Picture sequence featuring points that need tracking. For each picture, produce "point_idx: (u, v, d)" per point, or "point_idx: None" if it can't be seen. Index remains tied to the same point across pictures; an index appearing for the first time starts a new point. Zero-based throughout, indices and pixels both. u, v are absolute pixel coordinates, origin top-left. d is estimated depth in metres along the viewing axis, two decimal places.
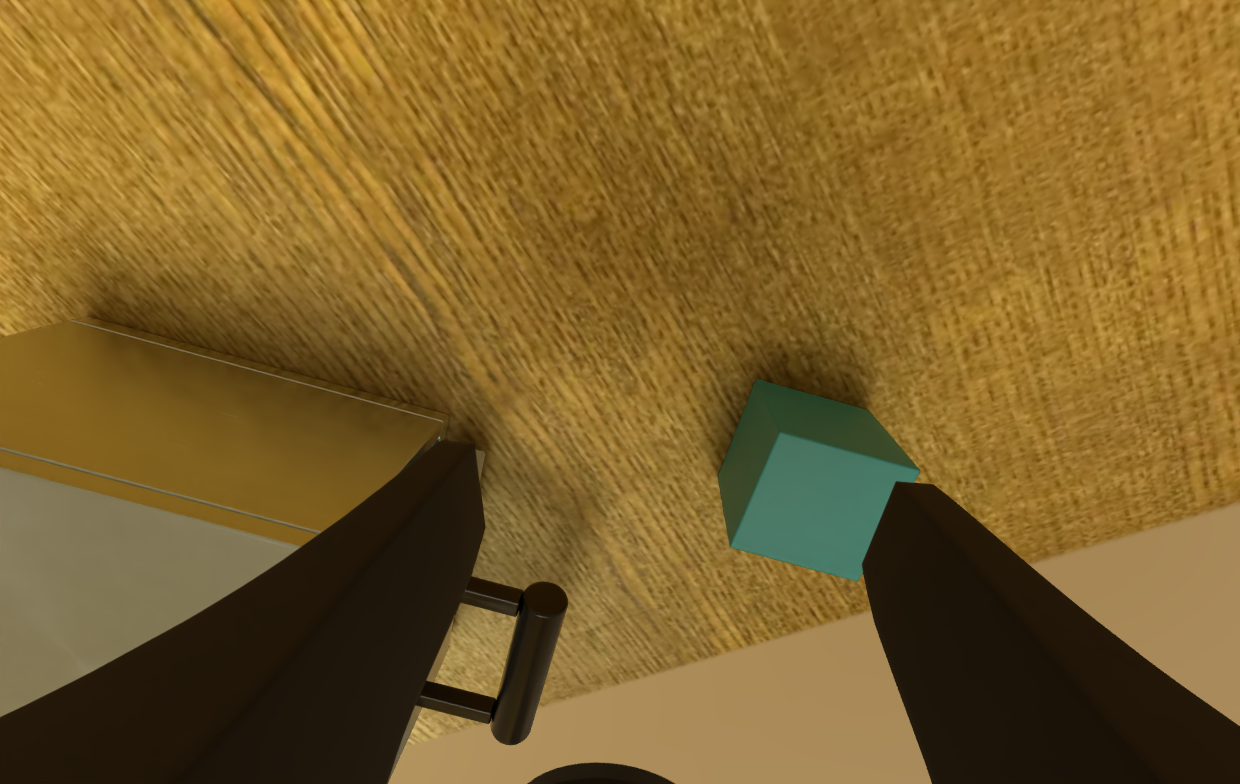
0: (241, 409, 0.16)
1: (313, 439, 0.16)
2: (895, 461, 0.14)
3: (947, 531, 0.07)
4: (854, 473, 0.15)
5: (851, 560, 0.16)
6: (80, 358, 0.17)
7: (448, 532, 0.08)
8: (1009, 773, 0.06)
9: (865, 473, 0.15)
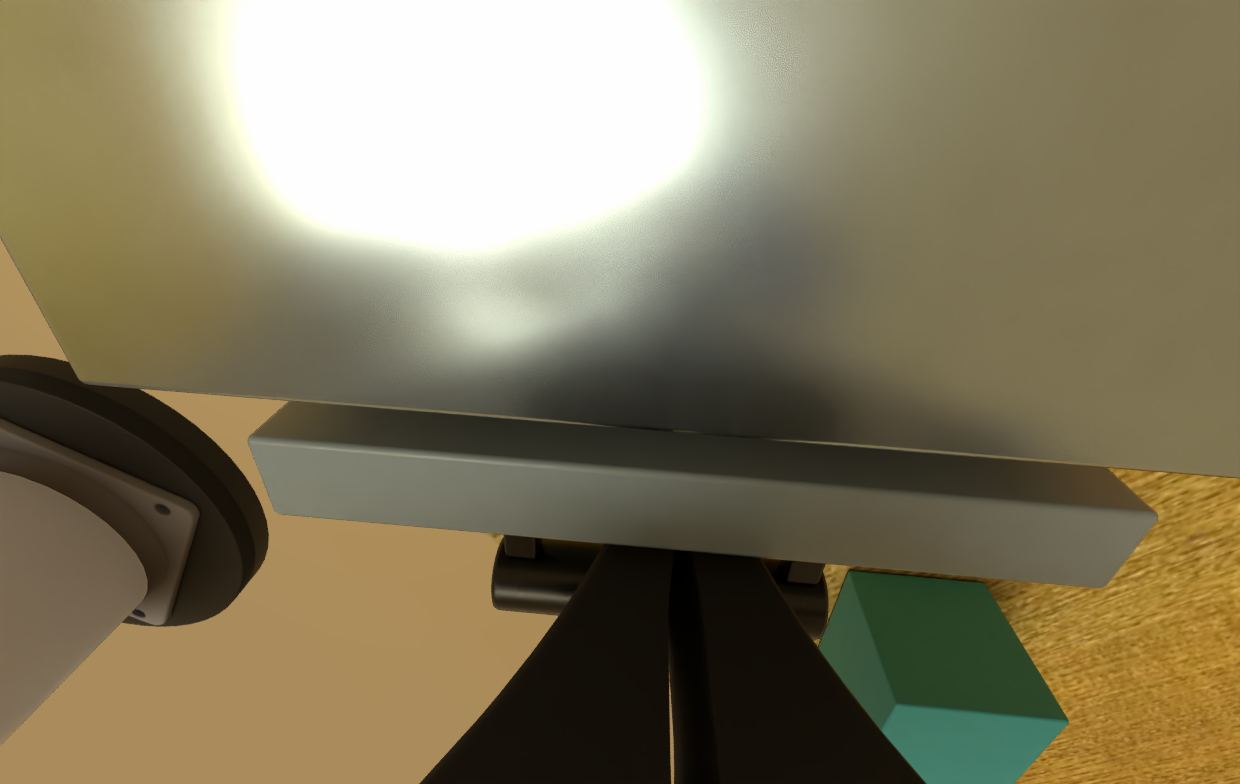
0: None
1: None
2: None
3: None
4: (1002, 769, 0.14)
5: None
6: None
7: None
8: (689, 736, 0.06)
9: (1001, 774, 0.14)
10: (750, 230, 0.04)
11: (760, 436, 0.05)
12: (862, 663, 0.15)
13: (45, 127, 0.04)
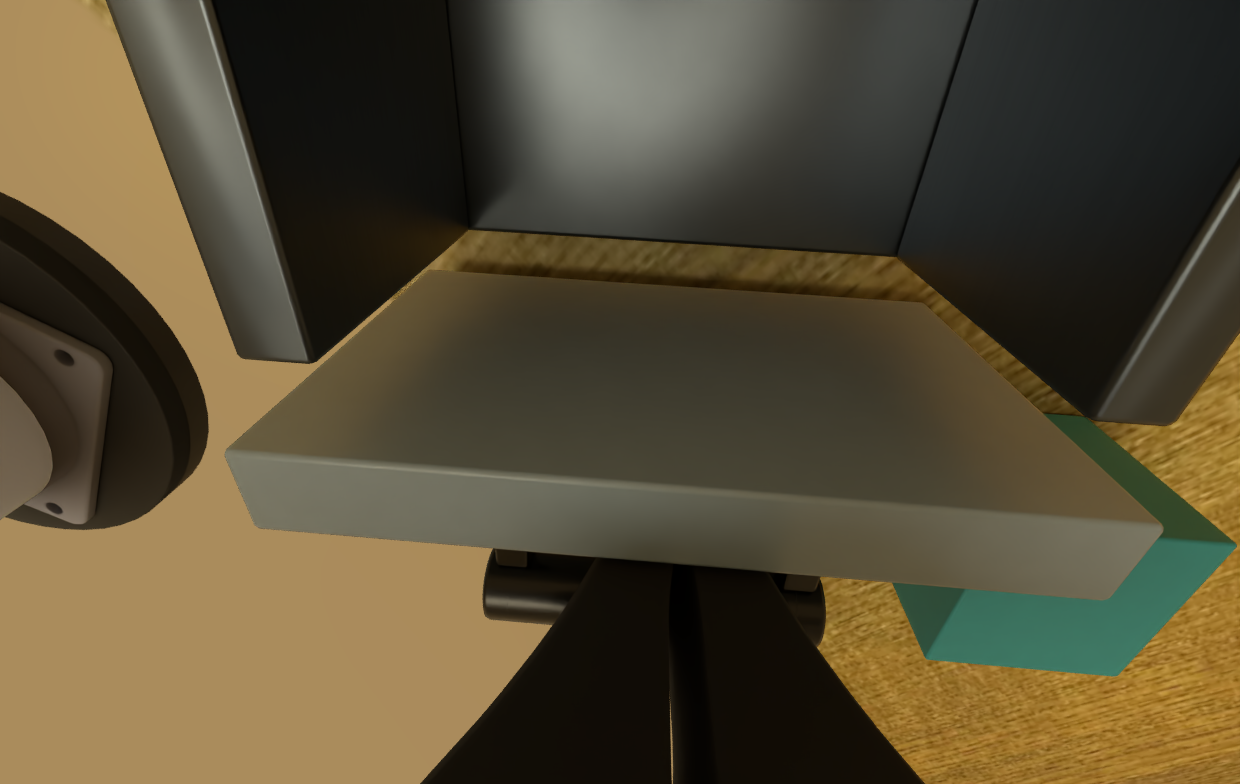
0: None
1: None
2: (1132, 654, 0.11)
3: None
4: (1130, 627, 0.11)
5: (966, 648, 0.11)
6: None
7: None
8: (687, 735, 0.06)
9: (1127, 636, 0.11)
10: None
11: None
12: None
13: None
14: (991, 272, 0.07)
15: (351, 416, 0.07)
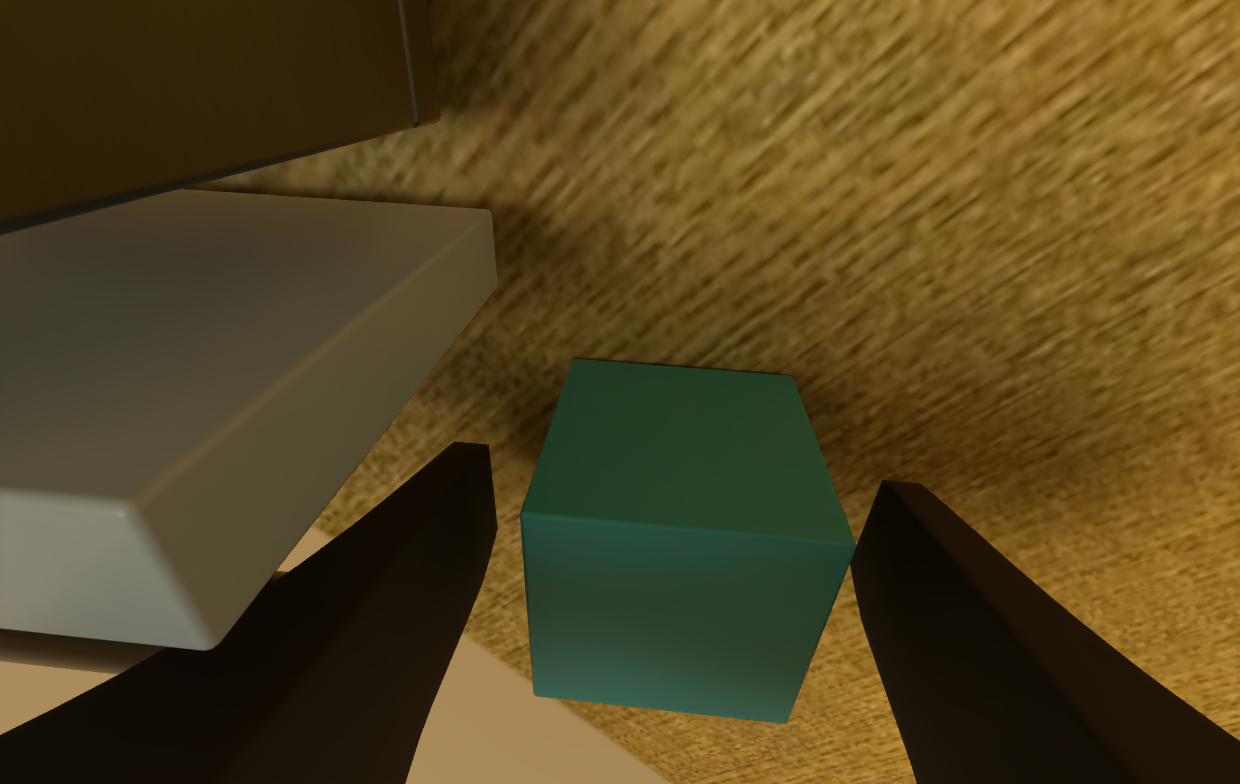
0: None
1: None
2: (795, 694, 0.08)
3: (931, 530, 0.07)
4: (767, 660, 0.07)
5: (575, 683, 0.08)
6: None
7: (463, 533, 0.08)
8: (989, 771, 0.06)
9: (770, 672, 0.08)
10: None
11: None
12: None
13: None
14: None
15: None
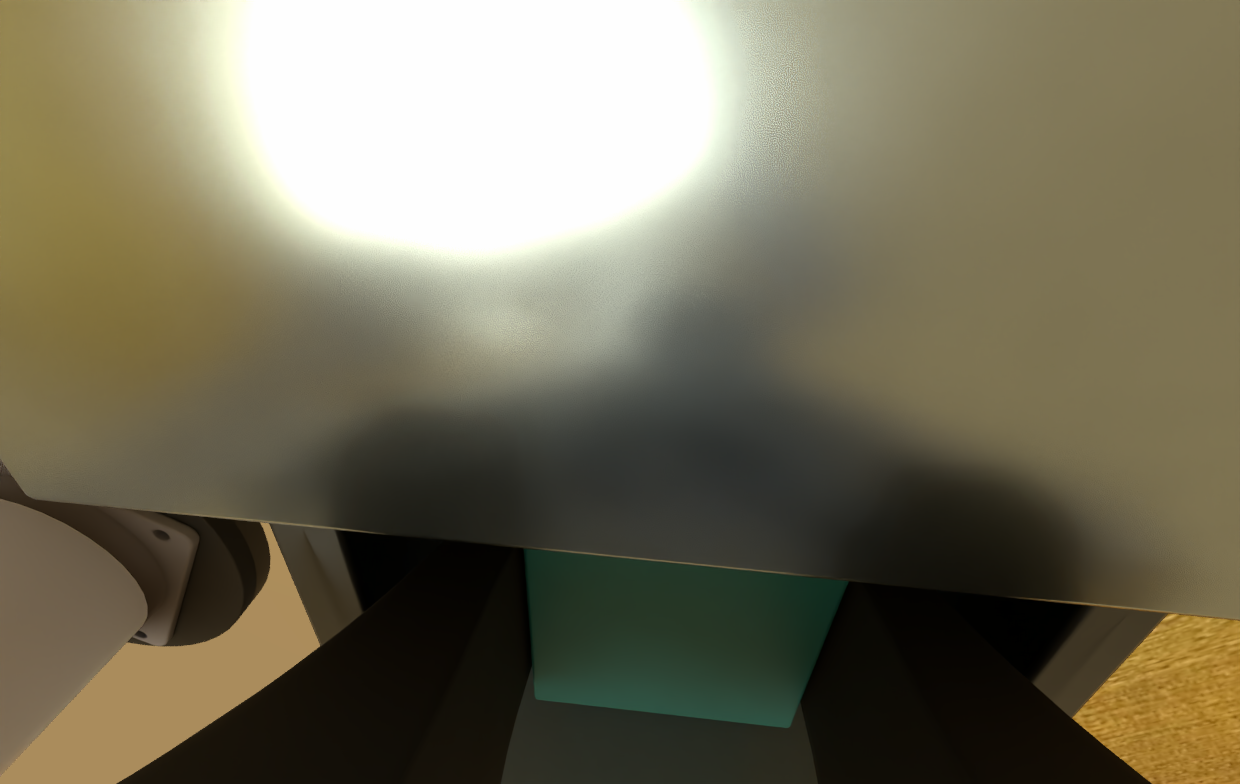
0: None
1: None
2: (799, 699, 0.08)
3: None
4: (770, 665, 0.07)
5: (576, 687, 0.08)
6: None
7: None
8: (864, 755, 0.06)
9: (774, 676, 0.08)
10: (775, 369, 0.03)
11: (782, 573, 0.04)
12: None
13: None
14: None
15: None
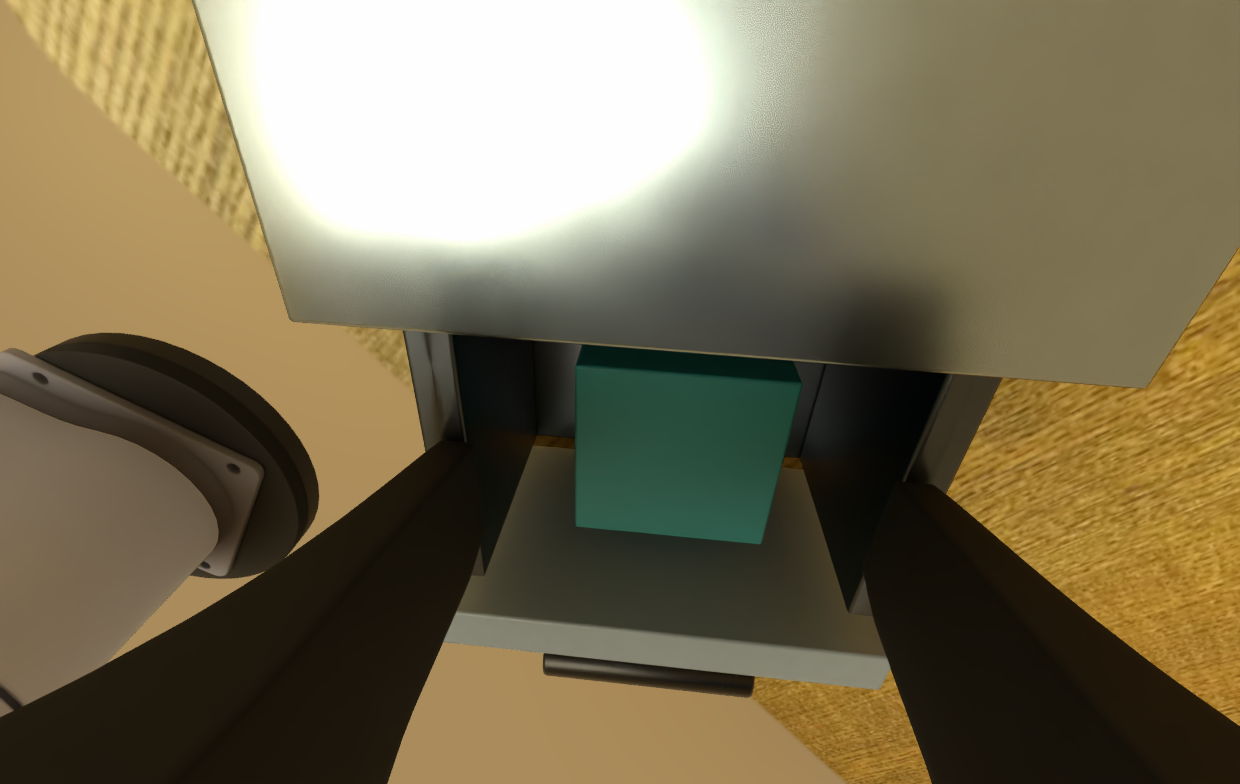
0: None
1: None
2: (767, 518, 0.11)
3: (947, 531, 0.07)
4: (746, 485, 0.11)
5: (607, 513, 0.11)
6: None
7: (448, 532, 0.08)
8: (1010, 773, 0.06)
9: (748, 495, 0.11)
10: (725, 219, 0.06)
11: (735, 354, 0.07)
12: None
13: (305, 158, 0.06)
14: (828, 510, 0.12)
15: (487, 583, 0.12)
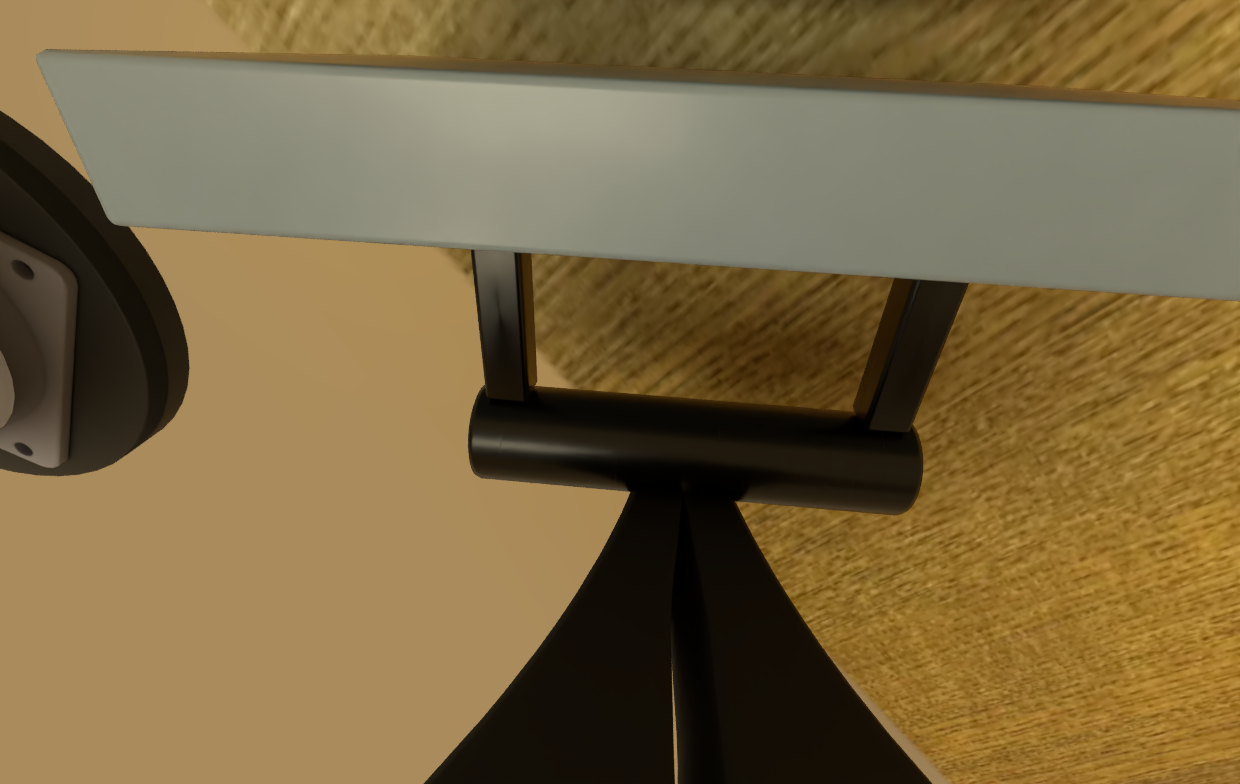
0: None
1: None
2: None
3: (693, 507, 0.08)
4: None
5: None
6: None
7: None
8: (693, 737, 0.06)
9: None
10: None
11: None
12: None
13: None
14: None
15: (254, 55, 0.04)
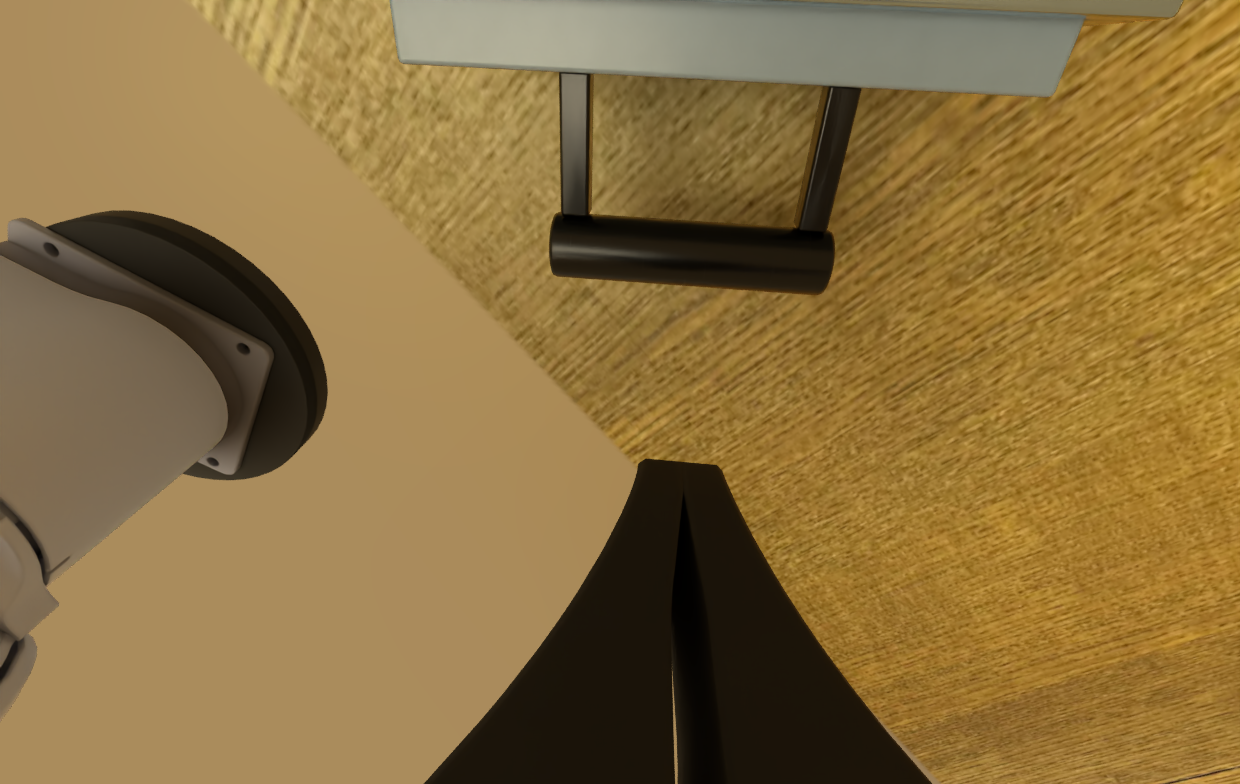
0: None
1: None
2: None
3: (693, 507, 0.08)
4: None
5: None
6: None
7: None
8: (693, 737, 0.06)
9: None
10: None
11: None
12: None
13: None
14: None
15: None
